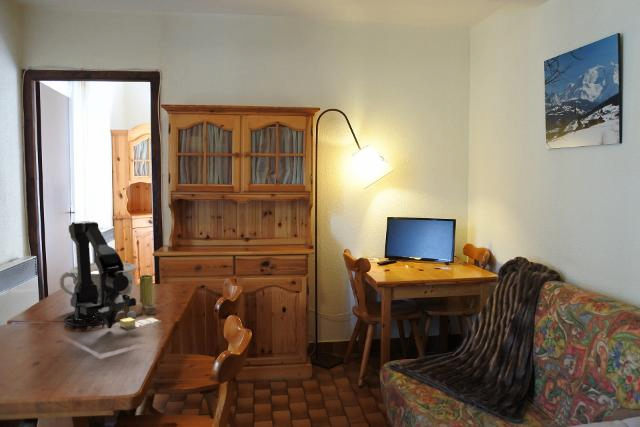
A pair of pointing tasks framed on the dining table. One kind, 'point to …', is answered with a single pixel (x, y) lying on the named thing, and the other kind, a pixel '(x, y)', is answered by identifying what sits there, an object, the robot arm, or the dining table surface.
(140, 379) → the dining table surface
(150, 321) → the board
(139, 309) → the peach rounded capsule
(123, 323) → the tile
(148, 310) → the walnut cube
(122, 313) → the walnut cube
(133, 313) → the grey ball
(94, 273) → the chamber pot
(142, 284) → the vase
